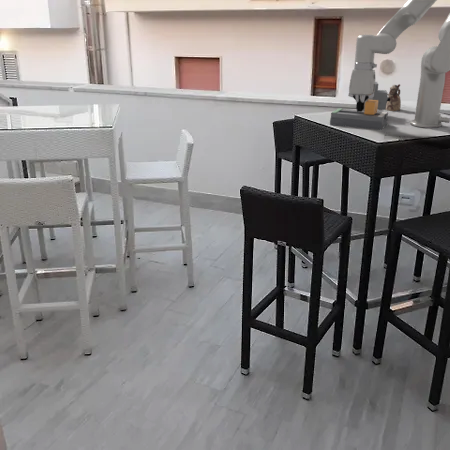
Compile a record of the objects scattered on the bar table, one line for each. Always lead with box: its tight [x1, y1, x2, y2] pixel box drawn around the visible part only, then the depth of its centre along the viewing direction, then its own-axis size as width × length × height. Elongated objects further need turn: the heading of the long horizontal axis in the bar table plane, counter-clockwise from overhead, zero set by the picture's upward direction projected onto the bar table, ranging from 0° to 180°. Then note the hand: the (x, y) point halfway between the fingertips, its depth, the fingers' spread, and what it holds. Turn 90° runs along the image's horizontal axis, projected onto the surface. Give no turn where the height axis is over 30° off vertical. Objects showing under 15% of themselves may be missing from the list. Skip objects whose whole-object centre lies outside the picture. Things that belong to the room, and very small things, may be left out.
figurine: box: [385, 83, 402, 112], centre depth 238 cm, size 7×7×12 cm
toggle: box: [364, 100, 378, 115], centre depth 207 cm, size 4×6×7 cm, turn 151°
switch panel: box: [329, 107, 389, 130], centre depth 211 cm, size 22×11×5 cm, turn 61°
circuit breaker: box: [355, 81, 390, 111], centre depth 225 cm, size 8×14×15 cm, turn 78°
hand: (359, 111), depth 210 cm, fingers closed
